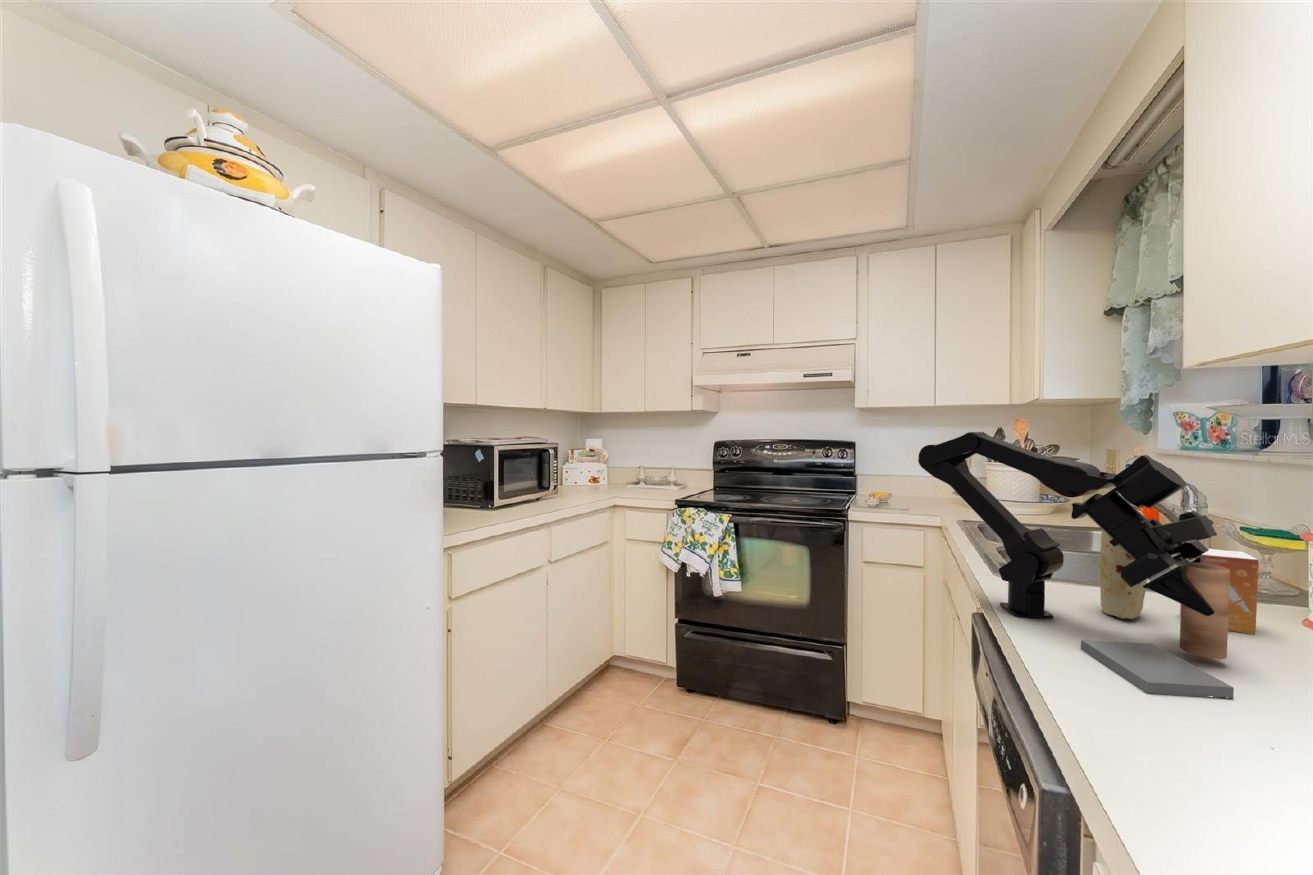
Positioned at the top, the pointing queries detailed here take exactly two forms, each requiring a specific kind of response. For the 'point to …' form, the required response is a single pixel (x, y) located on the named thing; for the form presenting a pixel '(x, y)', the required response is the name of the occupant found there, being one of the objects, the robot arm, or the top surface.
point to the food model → (1118, 582)
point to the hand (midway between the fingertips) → (1217, 611)
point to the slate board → (1155, 669)
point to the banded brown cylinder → (1200, 630)
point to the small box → (1238, 587)
